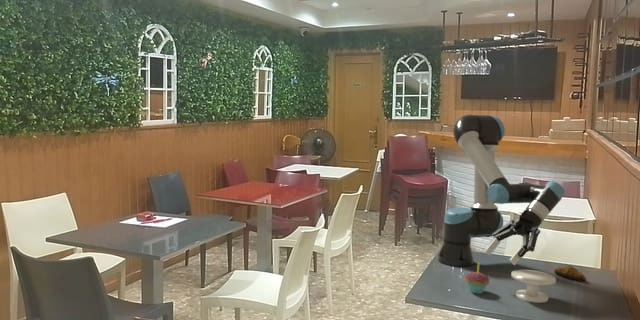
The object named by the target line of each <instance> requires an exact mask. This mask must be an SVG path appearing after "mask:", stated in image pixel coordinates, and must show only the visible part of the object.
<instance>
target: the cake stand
mask: <svg viewBox="0 0 640 320" xmlns="http://www.w3.org/2000/svg"><path fill="white" fill-rule="evenodd" d="M511 278H512V279H513V280H516V281H517V282H520V283H525V284H526V288H525V289H518V290H517V291H515V297H516V298H517V299H519V300H522V301H525V302H529V303H535V304H537V303H538V304H540V303H541V304H542V303H547V302H549V295H548V294H545V293H544V292H540V291H539V288H540V287H539V286H552V285H555V284H556V283H557V278H556V277H555V276H554V275H553V274H549V273H547V272H543V271H540V270H533V269H532V270H531V269H515V270H513V271H511Z"/></svg>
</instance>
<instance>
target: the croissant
mask: <svg viewBox="0 0 640 320" xmlns="http://www.w3.org/2000/svg"><path fill="white" fill-rule="evenodd" d="M553 270H554V271H553V273H555V274H556V275H558V276H561V277H563V278H567V279H571V280H574V281H578V282H586V281H587V277H586V276H585V274H583V273H581V271H579V270H578V269H577V268H575V267H573V266H572V265H568V266H565V267H564V266H563V267H557V268H555V269H553Z"/></svg>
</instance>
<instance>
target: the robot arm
mask: <svg viewBox="0 0 640 320" xmlns="http://www.w3.org/2000/svg"><path fill="white" fill-rule="evenodd" d="M505 130H506V129H505V126H504V123H503V121H502V120H501V119H500V118H499V117H497V116H496V115H495V116H493V115H480V114H465V115H463V116H461V117H459V118H458V119H457V120H456V122H455V124H454V126H453V137H454V141H455V142H456V144H457V146H458V147H459V148H462V149H463V150H464V152H465V153H466V155H467V156H468V158H469V159H470V161H471V163H472V164H473V166H474V181H473V182H474V187H473V188H474V190H473V191H474V194H473V195H474V196H473V201H474V202H473V204H471V206H470V207H469V208H467V207H455V208H450V209H448V210H446V212H445V213H444V220H443V222H444V226H443V227H444V228H443V242H442V245H441V248H440V250H439V252H438V255H437V261H438V262H439V263H442V264H444V265H448V266H454V267H469V266H472V265H474V256H473V252H472V251H473V250H472V247H471V242H472V241H471V239H472V238H473V239H474V238H490V237H493V239H492V240H491V241H490V242H489V243H488V244H489V245H488V246H486V248H485V249H484V252H485V253H486V254H487V255H488V256H490V255H491V254H492V253H493V252H494V251H495V250H496V249H497V247H499V245H500V243H501V241H503V240H505V239H508V238H510V237H513V236H517V235H518V236H521V237H522V245H520V246H519V247H518V249H517V250H516V251H515V252H514V254H513V255H512V256H511V257H510V259H509V261H510V263H511V264H512V265H513V266H515V265H516V264H517V263H518V262H519V261H520V260H521V259H522V258H524V256H525V255H526V254H527V252H534V251H535V247H536V244H537V240H538V237H539V235H540V234H541V230H540V228H539V227H540V226H541V224H542V222H543V221H544V220H545V219H546V218H547V217H548V216H549V214H550V213H551V212H552V211H553V210H554V208H555V207H556V206H557V205H558V203H560V201H561V200H562V199H563V198H564V196H565V194H566V190H565V188H564V187H563V186H562V185H561V184H560V183H559V182H557V181H554V180H550V181H548V182H546V183H545V184H544V185H539V184H534V183H533V184H532V183H529V182H519V183H510V182H509V181H508V179H507V178H506V177H505V175H504V173H503V172H502V171H501V169H500V168H499V166H498V165H497V163H496V160H495V159H496V149H497V148H498V147H499V143H500V142H501V141H503V138H504V136H505ZM496 204H499V205H504V204H527V207H525V209H524V210H523V211H522V213H521V214H520V215H519V218H518V219H519V220H518V221H515V220H514V219H510V221H509V222H508V223H506V224H505V225H504V217H503V216H502V213H501V212H500V211H499V208H498V206H497V205H496Z"/></svg>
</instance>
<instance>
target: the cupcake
mask: <svg viewBox="0 0 640 320" xmlns="http://www.w3.org/2000/svg"><path fill="white" fill-rule="evenodd" d="M476 269H477V270H476V271H471V272H469V273H467V274H465V278H464V281H465V282H467V284H468V287H469V288H468V289H469V291H470V293H473V294H479V295H480V294H483V293H484V292H485V289H486V287H487V285H490V284H489V283H490V281H489V280H490V278H489V277H488V276H487V275H486V274H484V273H482V272H480V261H478V262H477V265H476Z"/></svg>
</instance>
